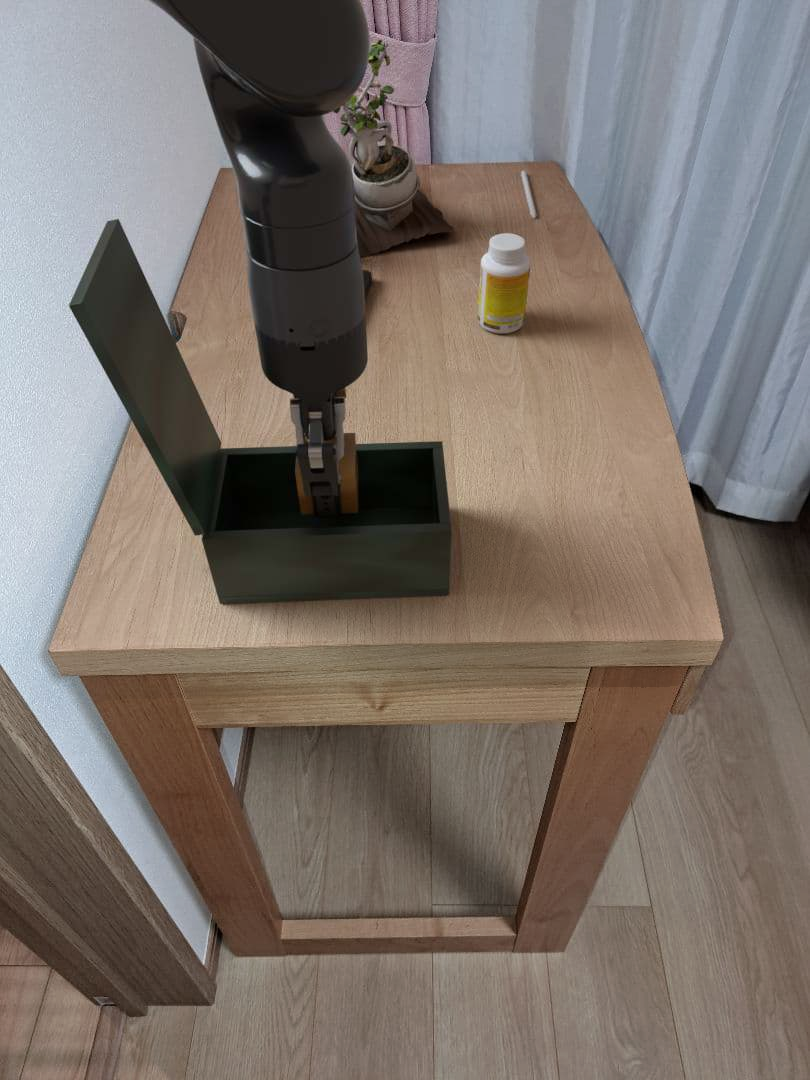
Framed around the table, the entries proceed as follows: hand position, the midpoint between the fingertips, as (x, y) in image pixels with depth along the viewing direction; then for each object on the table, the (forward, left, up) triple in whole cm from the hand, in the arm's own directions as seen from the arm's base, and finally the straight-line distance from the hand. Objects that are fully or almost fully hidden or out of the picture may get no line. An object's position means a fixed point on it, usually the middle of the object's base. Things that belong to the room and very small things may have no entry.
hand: (329, 491), depth 67 cm
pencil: (+51, +54, -8) cm, 75 cm away
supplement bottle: (+31, +26, -8) cm, 41 cm away
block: (0, 0, 0) cm, 0 cm away
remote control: (+15, +37, -8) cm, 41 cm away
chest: (0, 0, -7) cm, 7 cm away
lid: (-10, +4, +11) cm, 16 cm away
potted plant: (+26, +56, -8) cm, 63 cm away
